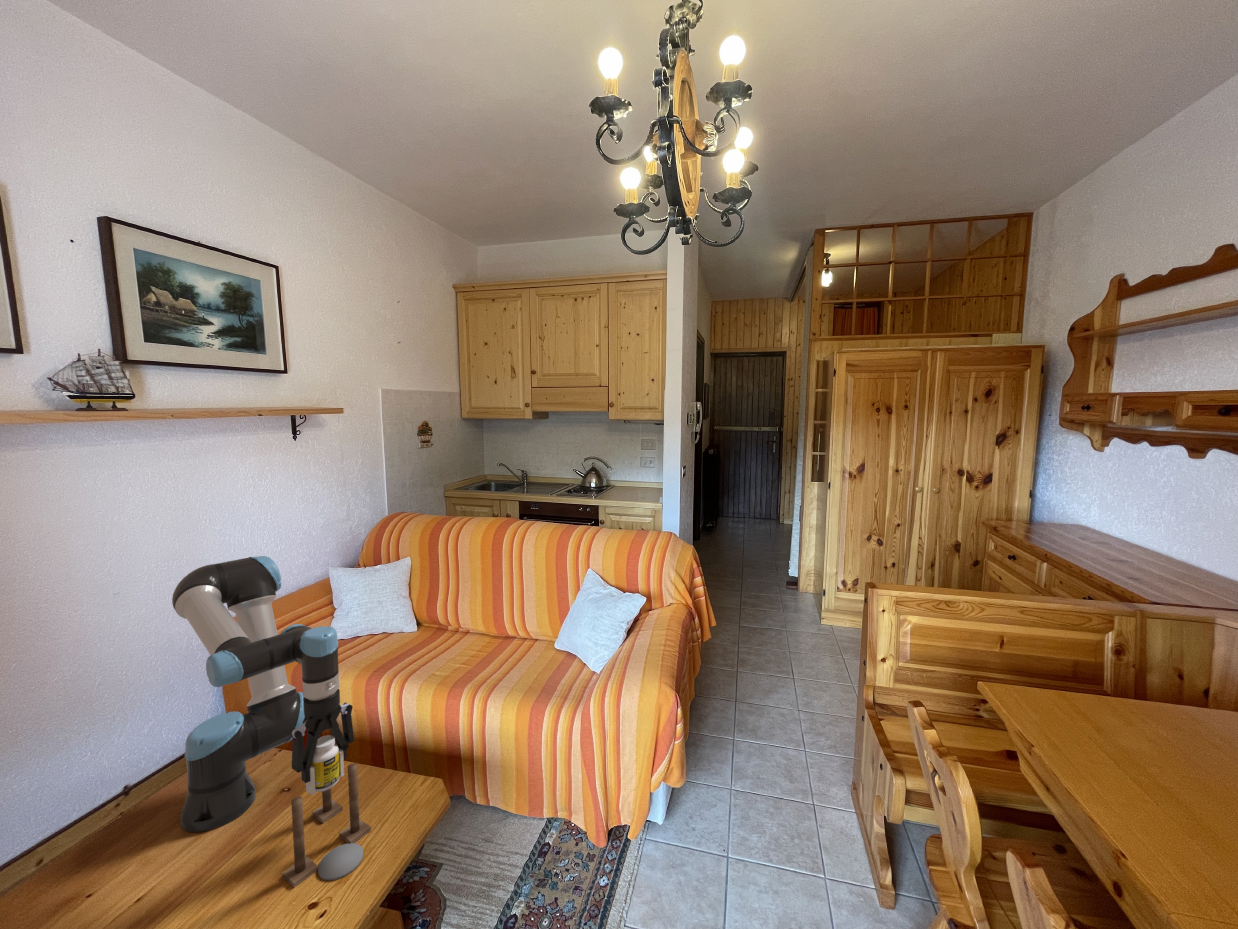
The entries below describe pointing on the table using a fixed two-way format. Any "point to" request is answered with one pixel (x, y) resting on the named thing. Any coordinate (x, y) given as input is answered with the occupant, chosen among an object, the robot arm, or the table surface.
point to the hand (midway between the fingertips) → (325, 782)
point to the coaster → (340, 861)
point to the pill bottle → (326, 763)
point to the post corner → (354, 810)
